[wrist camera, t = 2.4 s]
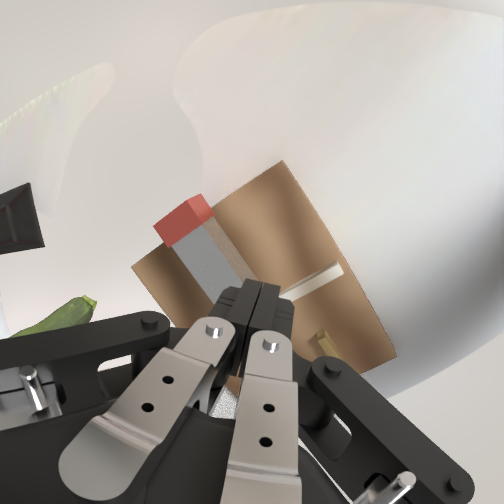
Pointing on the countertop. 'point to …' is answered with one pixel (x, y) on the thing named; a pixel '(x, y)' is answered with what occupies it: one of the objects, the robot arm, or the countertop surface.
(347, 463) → the robot arm
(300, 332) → the door board
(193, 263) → the bar
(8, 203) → the barrier
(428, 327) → the countertop surface
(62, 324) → the vegetable
